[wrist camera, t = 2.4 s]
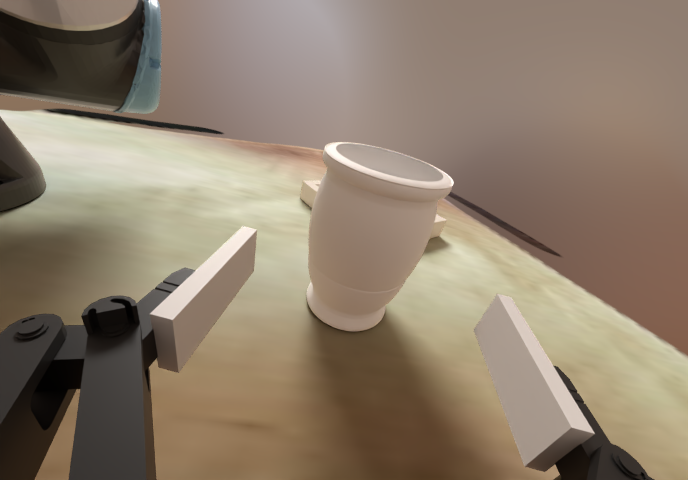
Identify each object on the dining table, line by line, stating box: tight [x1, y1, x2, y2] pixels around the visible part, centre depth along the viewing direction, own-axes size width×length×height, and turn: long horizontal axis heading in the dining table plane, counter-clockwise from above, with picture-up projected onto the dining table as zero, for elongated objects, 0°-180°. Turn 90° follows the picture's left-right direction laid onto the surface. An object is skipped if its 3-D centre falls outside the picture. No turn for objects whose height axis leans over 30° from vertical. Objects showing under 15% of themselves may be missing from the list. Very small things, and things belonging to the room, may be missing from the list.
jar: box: [306, 142, 454, 331], centre depth 25 cm, size 11×10×15 cm
